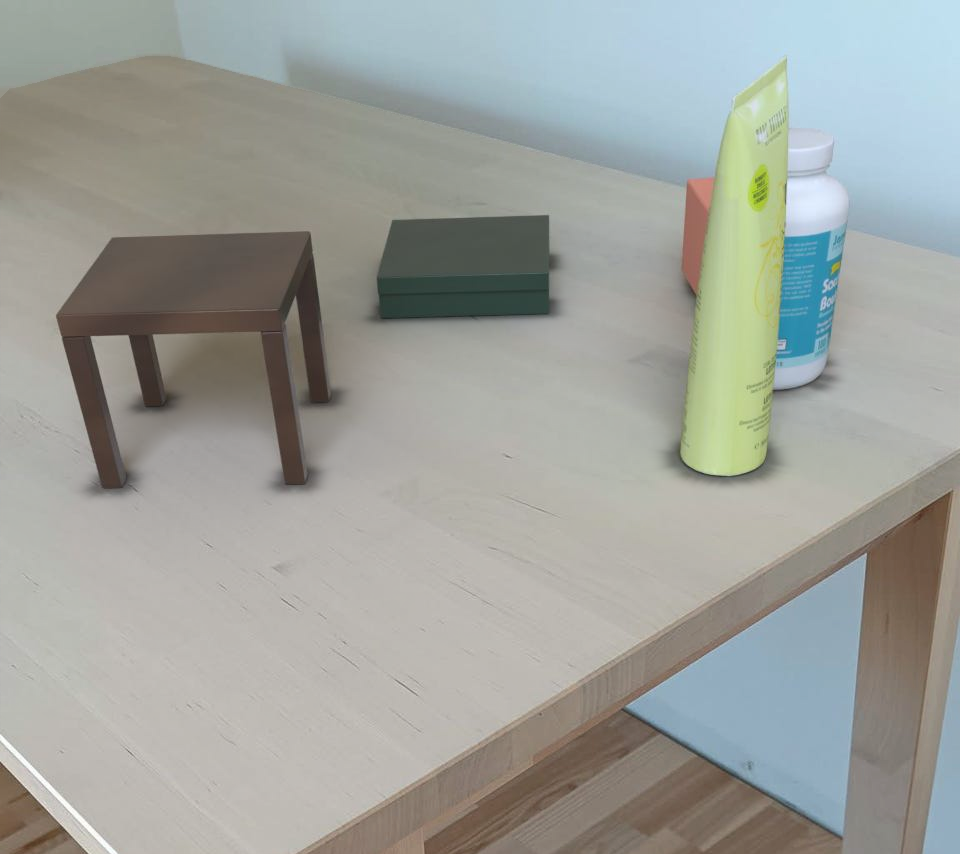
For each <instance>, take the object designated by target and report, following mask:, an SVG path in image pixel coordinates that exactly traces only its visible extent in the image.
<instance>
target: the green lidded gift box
mask: <svg viewBox="0 0 960 854" xmlns="http://www.w3.org/2000/svg"><path fill="white" fill-rule="evenodd" d="M389 227H390V228H389V230H388V234H387V238H386V242H385V246H384V250H383V252H382V253H383V254H382V256H381V260H380V264H379V268H378V272H377V275H376V287H377V288H376V289H377V294H378V300H379V310H380V318H381V319H403V318H404V319H405V318H407V319H408V318H439V317H441V318H442V317H443V318H444V317H477V316H514V315H518V316H519V315H548V314H550V215H549V214H537V215H536V214H535V215H507V216H506V215H504V216H501V215H500V216H475V217H474V216H473V217H472V216H471V217H445V218H440V217H439V218H414V219H413V218H412V219H411V218H410V219H392V220H391V224H390V226H389Z"/></svg>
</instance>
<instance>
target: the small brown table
mask: <svg viewBox="0 0 960 854" xmlns="http://www.w3.org/2000/svg"><path fill="white" fill-rule="evenodd" d="M313 251H314V249H313V240H312V235H311V231H310V230H302V231H301V230H299V231H269V232H268V231H267V232H241V233H240V232H238V233H212V234H211V233H206V234H205V233H204V234H179V235H178V234H177V235H175V234H173V235H148V236H147V235H146V236H145V235H144V236H141V235H140V236H113V237H111V238H110V240H109V241H108V242H107V244H106V245H105V246H104V248H103V249H102V251H101V252H100V254H98V256H97V258H96V259H95V260H94V262H93V263H92V264H91V266H90V267H89V268H88V270H87V271H86V273H85V274H84V275H83V277H82V278H81V279H80V281H79V282H78V283H77V285H76V287H75V288H74V289H73V291H72V292H71V293H70V295H69V296H68V298H67V299H66V301H64V303H63V305H62V306H61V307H60V309H59V310H58V311H57V313H56V314H55V318H56V322H57V326H58V329H59V333H60V336H61V341H62V344H63V348H64V352H65V355H66V360H67V363H68V367H69V371H70V375H71V378H72V381H73V385H74V390H75V392H76V396H77V400H78V402H79V407H80V411H81V415H82V419H83V423H84V426H85V429H86V433H87V436H88V440H89V445H90V448H91V452H92V455H93V458H94V459H93V460H94V463H95V466H96V470H97V473H98V476H99V481H100V485H101V487H102V489H119V488H123V486H124V484H125V482H126V480H127V474H126V470H125V467H124V462H123V459H122V454H121V451H120V447H119V444H118V439H117V435H116V431H115V428H114V423H113V420H112V415H111V411H110V408H109V404H108V400H107V396H106V393H105V392H106V391H105V388H104V384H103V381H102V376H101V374H100V373H101V372H100V369H99V365H98V360H97V356H96V352H95V349H94V345H93V341H92V337H111V336H115V337H116V336H128V339H129V344H130V348H131V352H132V357H133V361H134V365H135V369H136V375H137V378H138V382H139V386H140V391H141V395H142V399H143V404H144V406H145V407H164V404H165V403H166V400H167V398H168V397H167V394H166V393H167V392H166V388H165V384H164V380H163V375H162V370H161V366H160V362H159V356H158V352H157V348H156V343H155V339H154V335H183V334H184V335H185V334H187V335H189V334H190V335H191V334H192V335H193V334H225V333H226V334H227V333H260V339H261V345H262V351H263V356H264V363H265V369H266V376H267V382H268V388H269V394H270V400H271V407H272V413H273V418H274V424H275V425H274V426H275V431H276V437H277V443H278V448H279V455H280V463H281V468H282V474H283V475H282V476H283V482H284V485H305V484H306V482H307V478H308V474H309V473H308V466H307V459H306V453H305V445H304V438H303V432H302V425H301V418H300V413H299V404H298V399H297V392H296V385H295V378H294V371H293V366H292V357H291V351H290V345H289V338H288V332H287V325H286V322H287V319H288V316H289V313H290V311H291V308H292V306H293V303H294V301H295V299H296V308H297V315H298V322H299V329H300V335H301V343H302V350H303V357H304V358H303V359H304V364H305V372H306V377H307V385H308V386H307V387H308V393H309V400H310V403H329V402H330V399H331V395H332V390H331V383H330V375H329V374H330V373H329V367H328V358H327V351H326V343H325V336H324V328H323V327H324V326H323V318H322V313H321V311H322V310H321V305H320V304H321V303H320V295H319V288H318V281H317V273H316V265H315V257H314V253H313Z"/></svg>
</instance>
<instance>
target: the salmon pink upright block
mask: <svg viewBox="0 0 960 854" xmlns="http://www.w3.org/2000/svg"><path fill="white" fill-rule="evenodd" d="M714 178H715V176H713V177H702V178H691V179H687V180H686V190H685V207H684V222H683V237H682V238H683V239H682V252H681V253H682V254H681V255H682V256H681V272H682V273H683V276H685V278H686V280H687V282H688V284H689V285H690V287H691V289H692V291H693V292H694V293H695V294H694V295H695V296H696V297H697V291H698V284H699V276H700V269H701V261H702V254H703V247H704V241H705V234H706V227H707V220H708V214H709V208H710V203H711V196H712V190H713V184H714Z"/></svg>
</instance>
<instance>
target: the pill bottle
mask: <svg viewBox="0 0 960 854" xmlns="http://www.w3.org/2000/svg"><path fill="white" fill-rule="evenodd" d="M834 145H835V138H834V136H833V135H832V134H830V133H828V132H825V131H822V130H818V129H813V128H806V127H788V167H787V197H786V225H785V244H784V259H783V275H782V290H781V304H780V317H779V331H778V342H777V354H776V365H775V376H774V386H773V391H779V390H780V391H781V390H788V389H795V388H798V387H802V386H805V385H807V384H810V383H811V382H813V381H815V380H816V379H817V378H818V377H819V376H820V375H821V374H822V373H823V372H824V370H825V368H826V366H827V365H826V364H827V362H828V355H829V349H830V344H831V343H830V342H831V337H832V328H833V321H834V314H835V308H836V301H837V294H838V288H839V287H838V286H839V281H840V275H841V274H840V273H841V269H842V267H841V266H842V260H843V253H844V247H845V239H846V234H847V227H848V222H849V214H850V204H851V203H850V197H849V194H848V191H847V189H846V188H845V186H844V184H842V182H841V181H840V180H838V179H837V178H835V177H834V176H832V175H830V174H828V173H827V170H828V169H829V168H830V166H831V163H832V162H833V156H834V148H835V147H834Z"/></svg>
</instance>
